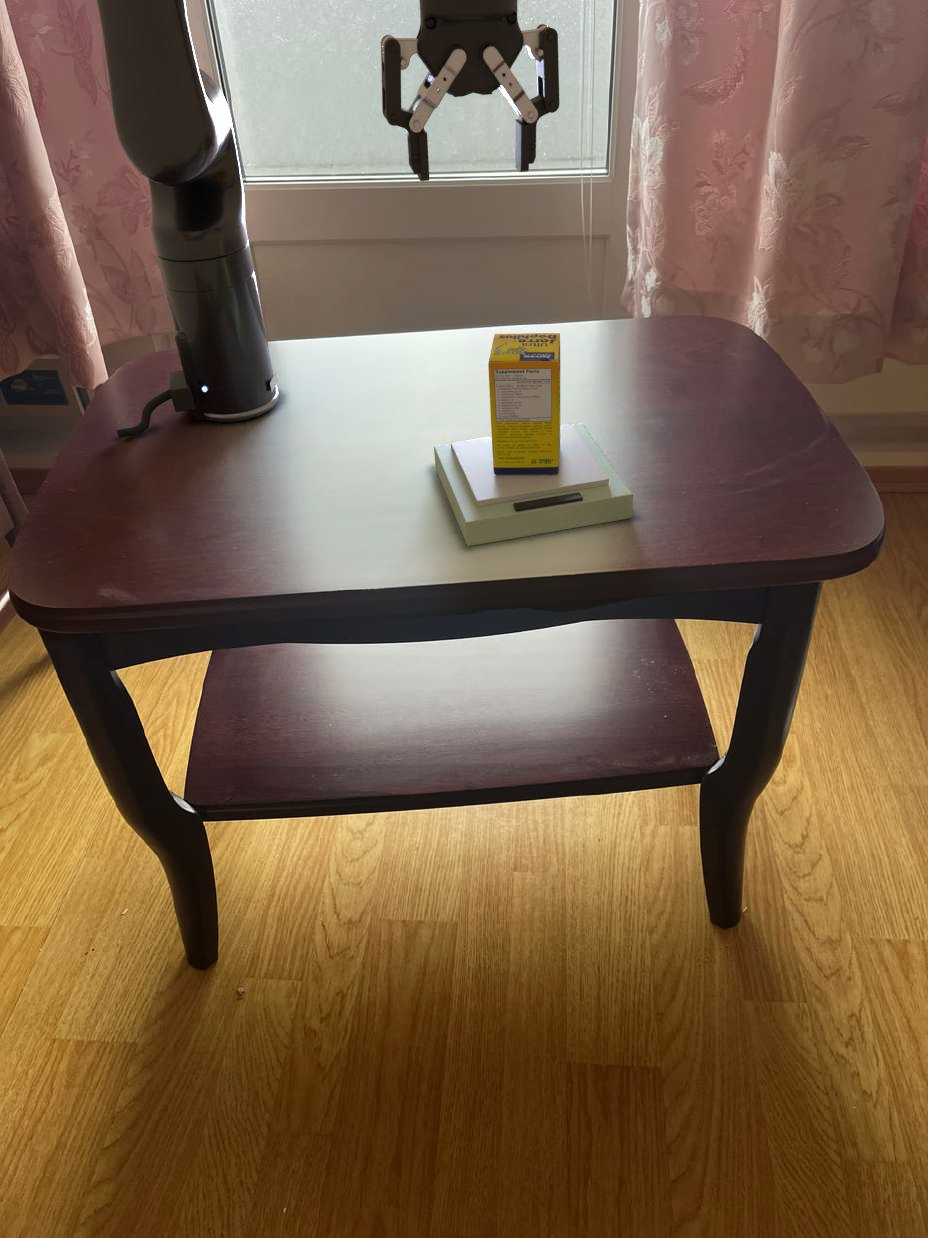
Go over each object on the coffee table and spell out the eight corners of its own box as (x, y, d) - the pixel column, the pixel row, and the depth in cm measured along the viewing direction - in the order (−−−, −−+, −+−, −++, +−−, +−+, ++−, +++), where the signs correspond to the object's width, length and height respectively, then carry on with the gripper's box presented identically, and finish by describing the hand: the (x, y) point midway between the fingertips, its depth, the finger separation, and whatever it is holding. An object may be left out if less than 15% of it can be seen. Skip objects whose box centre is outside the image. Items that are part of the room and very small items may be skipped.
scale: (467, 546, 82) (465, 516, 80) (435, 468, 93) (433, 440, 91) (631, 518, 84) (633, 488, 82) (582, 445, 95) (582, 417, 93)
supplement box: (560, 443, 89) (561, 330, 82) (559, 476, 85) (560, 359, 78) (497, 443, 90) (493, 331, 83) (492, 475, 85) (487, 360, 78)
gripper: (546, -69, 74) (542, 156, 84) (365, -59, 72) (383, 170, 82) (574, -63, 68) (566, 178, 79) (378, -52, 66) (396, 193, 77)
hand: (472, 174), depth 80 cm, fingers open, 8 cm apart
